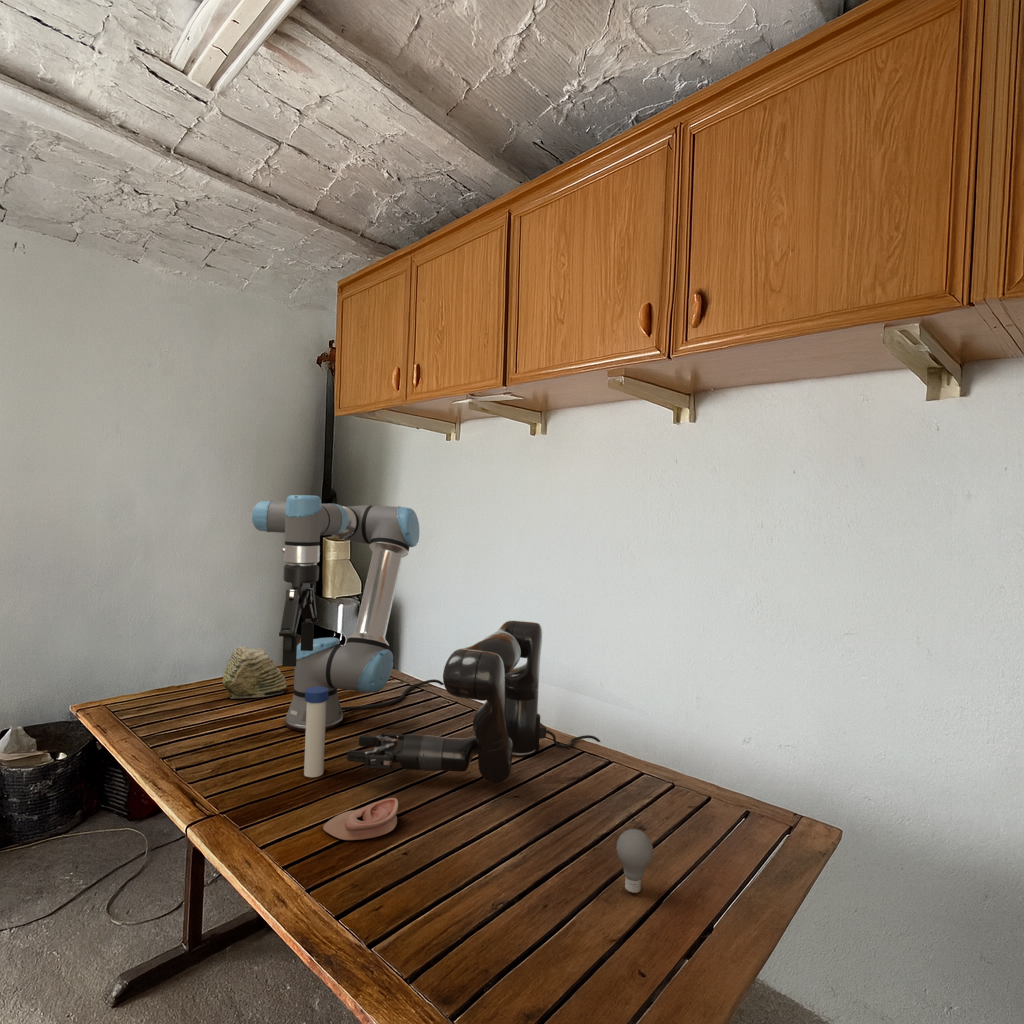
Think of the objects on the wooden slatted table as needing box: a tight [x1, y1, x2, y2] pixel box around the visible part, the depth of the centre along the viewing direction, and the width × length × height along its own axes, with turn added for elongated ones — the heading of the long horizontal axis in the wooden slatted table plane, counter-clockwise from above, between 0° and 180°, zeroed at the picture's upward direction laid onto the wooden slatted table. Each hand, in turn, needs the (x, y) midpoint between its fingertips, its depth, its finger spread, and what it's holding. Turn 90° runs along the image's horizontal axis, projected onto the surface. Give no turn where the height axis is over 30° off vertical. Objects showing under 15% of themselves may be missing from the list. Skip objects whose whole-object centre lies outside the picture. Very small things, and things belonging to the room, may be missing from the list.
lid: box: [305, 687, 329, 703], centre depth 144 cm, size 5×5×2 cm
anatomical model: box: [322, 797, 399, 841], centre depth 122 cm, size 13×4×12 cm
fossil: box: [222, 646, 288, 699], centre depth 198 cm, size 9×18×15 cm, turn 132°
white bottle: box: [303, 701, 326, 778], centre depth 145 cm, size 4×4×19 cm
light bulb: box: [615, 828, 654, 894], centre depth 106 cm, size 6×6×10 cm
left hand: (298, 658), depth 142 cm, fingers open, 13 cm apart
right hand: (353, 748), depth 144 cm, fingers open, 8 cm apart
